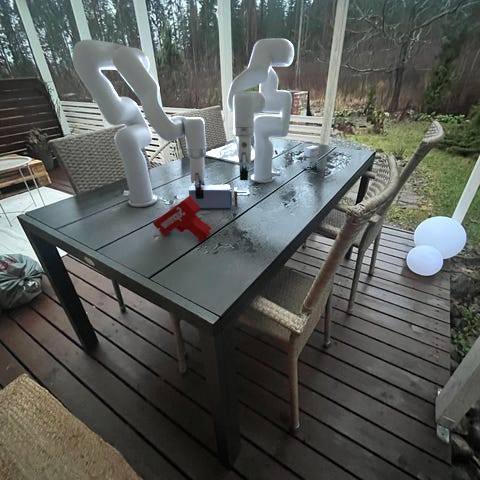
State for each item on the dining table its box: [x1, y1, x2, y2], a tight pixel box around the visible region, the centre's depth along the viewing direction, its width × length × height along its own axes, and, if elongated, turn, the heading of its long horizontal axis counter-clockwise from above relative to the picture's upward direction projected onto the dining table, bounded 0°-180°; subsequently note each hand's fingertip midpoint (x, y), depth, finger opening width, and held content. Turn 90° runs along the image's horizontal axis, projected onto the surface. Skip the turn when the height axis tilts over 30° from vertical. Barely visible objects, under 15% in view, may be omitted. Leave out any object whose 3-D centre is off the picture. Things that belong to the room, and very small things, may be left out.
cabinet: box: [188, 184, 231, 211], centre depth 116 cm, size 17×6×9 cm, turn 91°
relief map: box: [206, 141, 254, 165], centre depth 184 cm, size 27×35×5 cm
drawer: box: [230, 186, 251, 208], centre depth 116 cm, size 21×5×7 cm, turn 91°
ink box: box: [301, 144, 320, 170], centre depth 160 cm, size 8×5×12 cm, turn 134°
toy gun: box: [152, 195, 212, 243], centre depth 96 cm, size 18×4×15 cm
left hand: (200, 195), depth 115 cm, fingers closed on cabinet, 5 cm apart
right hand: (243, 176), depth 111 cm, fingers open, 7 cm apart
